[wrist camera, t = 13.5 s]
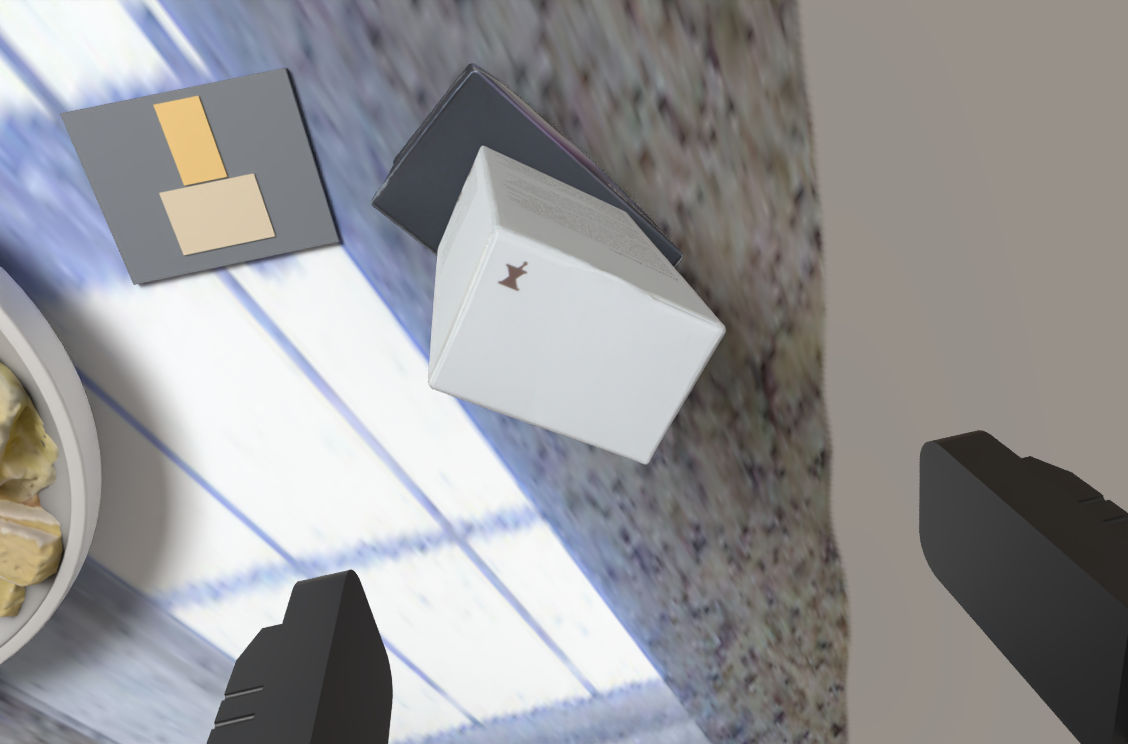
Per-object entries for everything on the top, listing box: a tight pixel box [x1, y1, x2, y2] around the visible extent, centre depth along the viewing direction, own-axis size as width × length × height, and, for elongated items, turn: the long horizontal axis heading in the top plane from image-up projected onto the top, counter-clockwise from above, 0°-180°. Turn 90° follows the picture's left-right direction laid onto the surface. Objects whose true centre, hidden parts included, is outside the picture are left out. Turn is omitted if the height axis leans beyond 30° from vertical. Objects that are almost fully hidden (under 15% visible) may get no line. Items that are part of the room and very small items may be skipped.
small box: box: [371, 64, 683, 268], centre depth 34 cm, size 11×6×10 cm, turn 49°
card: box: [60, 68, 340, 285], centre depth 36 cm, size 8×10×1 cm
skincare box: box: [428, 146, 726, 465], centre depth 23 cm, size 6×4×12 cm
